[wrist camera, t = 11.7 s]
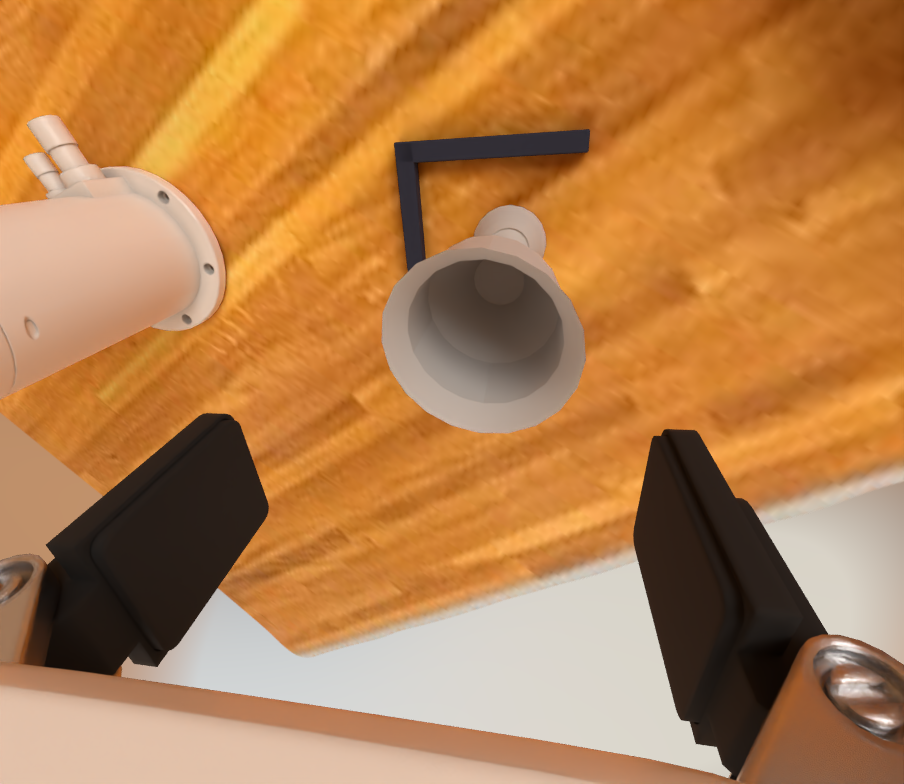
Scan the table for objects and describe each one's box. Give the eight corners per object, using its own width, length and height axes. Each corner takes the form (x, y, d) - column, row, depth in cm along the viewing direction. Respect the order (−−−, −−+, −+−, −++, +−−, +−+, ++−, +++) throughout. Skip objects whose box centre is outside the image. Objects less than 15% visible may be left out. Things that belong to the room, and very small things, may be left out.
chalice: (439, 250, 32) (347, 356, 16) (498, 165, 28) (453, 196, 13) (517, 312, 33) (500, 463, 18) (583, 237, 30) (633, 344, 14)
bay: (417, 331, 35) (414, 336, 34) (398, 142, 29) (393, 142, 28) (571, 332, 33) (572, 338, 32) (588, 129, 27) (590, 129, 26)
